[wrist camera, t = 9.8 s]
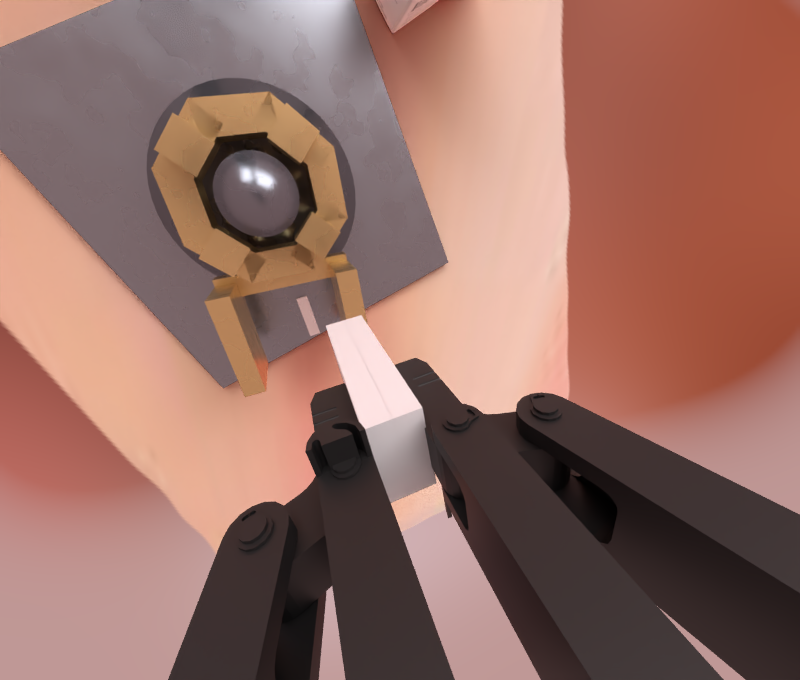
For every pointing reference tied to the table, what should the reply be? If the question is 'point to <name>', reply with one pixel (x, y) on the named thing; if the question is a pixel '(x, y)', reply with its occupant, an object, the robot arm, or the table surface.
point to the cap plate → (125, 97)
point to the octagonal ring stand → (242, 262)
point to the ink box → (402, 11)
